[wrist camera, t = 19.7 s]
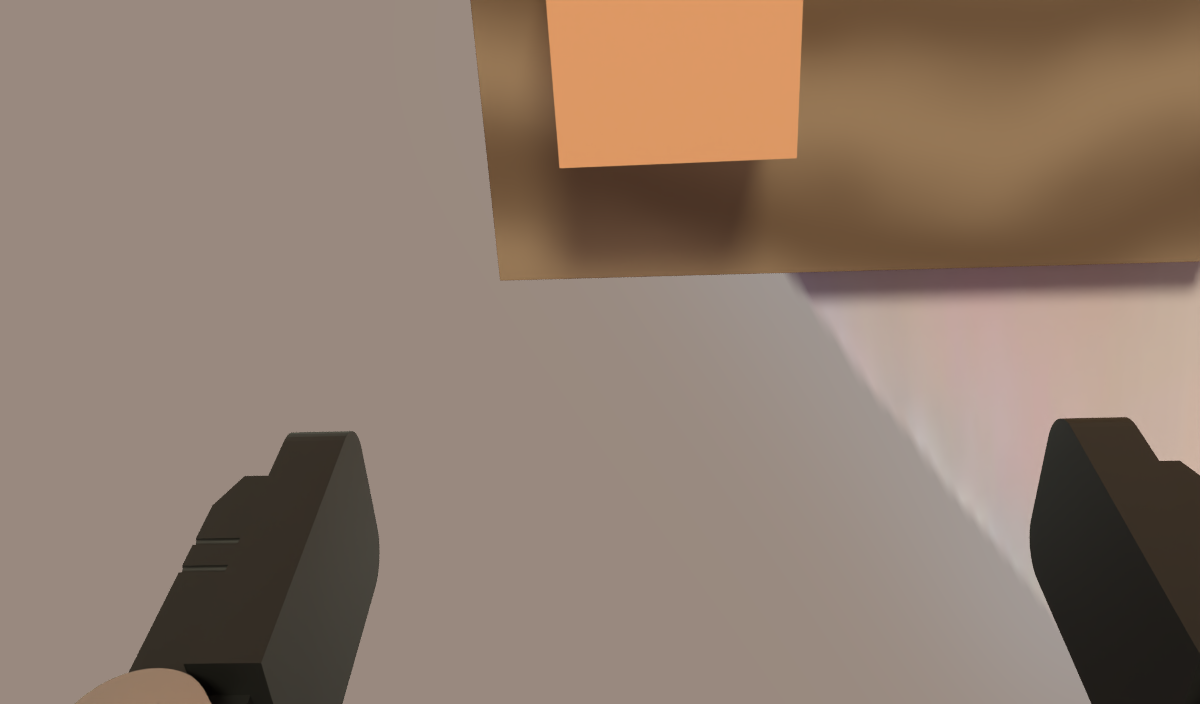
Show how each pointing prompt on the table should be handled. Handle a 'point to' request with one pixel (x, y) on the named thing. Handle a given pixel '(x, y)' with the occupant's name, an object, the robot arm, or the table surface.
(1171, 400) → the table surface
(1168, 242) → the base plate
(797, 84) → the orange cube
